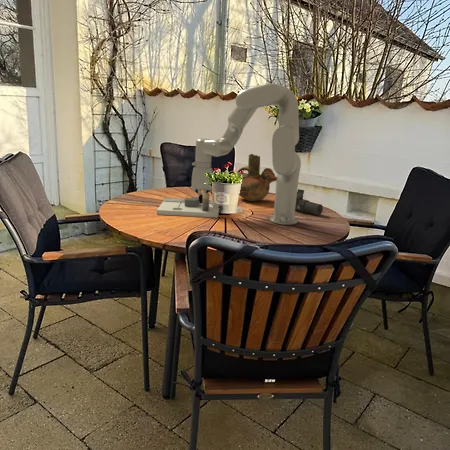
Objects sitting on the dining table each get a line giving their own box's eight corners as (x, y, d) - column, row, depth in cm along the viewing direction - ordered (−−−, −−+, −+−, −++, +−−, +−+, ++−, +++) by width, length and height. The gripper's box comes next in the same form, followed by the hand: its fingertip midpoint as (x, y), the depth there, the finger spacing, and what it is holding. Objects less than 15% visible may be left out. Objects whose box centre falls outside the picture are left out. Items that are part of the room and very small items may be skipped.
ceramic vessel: (269, 207, 217) (273, 158, 210) (225, 199, 229) (227, 153, 222) (281, 201, 232) (285, 156, 225) (239, 195, 244) (242, 151, 237)
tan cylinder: (208, 211, 194) (209, 194, 192) (201, 211, 194) (202, 194, 192) (208, 210, 197) (209, 193, 195) (202, 209, 197) (203, 192, 195)
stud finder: (197, 206, 201) (197, 199, 200) (184, 205, 201) (184, 199, 201) (198, 202, 209) (198, 196, 208) (186, 202, 209) (186, 195, 208)
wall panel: (217, 217, 192) (218, 210, 191) (156, 214, 193) (156, 206, 192) (219, 205, 215) (220, 198, 214) (165, 202, 216) (165, 195, 215)
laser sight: (313, 217, 202) (315, 197, 199) (276, 208, 217) (277, 189, 214) (324, 214, 209) (326, 194, 206) (287, 205, 224) (289, 187, 221)
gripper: (186, 165, 196) (185, 203, 201) (218, 167, 196) (216, 205, 201) (188, 163, 204) (187, 200, 209) (219, 165, 203) (217, 202, 208)
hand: (201, 202), depth 205 cm, fingers closed
